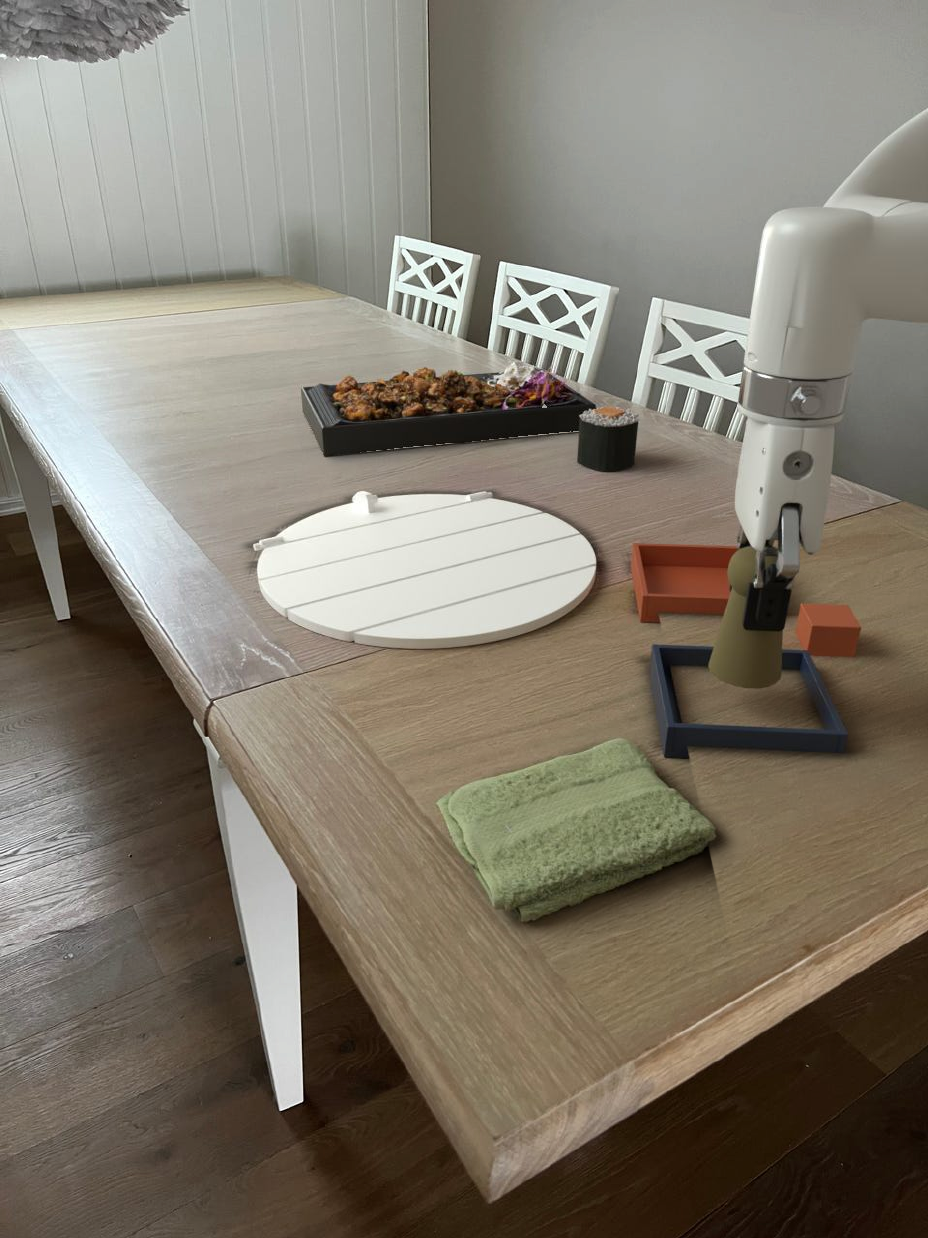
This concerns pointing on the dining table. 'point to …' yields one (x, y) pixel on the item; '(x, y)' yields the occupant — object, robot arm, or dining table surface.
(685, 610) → the terracotta tray
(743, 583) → the olive pawn
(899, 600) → the dining table surface
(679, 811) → the washcloth
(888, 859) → the dining table surface
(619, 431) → the sushi
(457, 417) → the food platter
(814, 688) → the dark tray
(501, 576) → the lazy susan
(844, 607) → the terracotta block
